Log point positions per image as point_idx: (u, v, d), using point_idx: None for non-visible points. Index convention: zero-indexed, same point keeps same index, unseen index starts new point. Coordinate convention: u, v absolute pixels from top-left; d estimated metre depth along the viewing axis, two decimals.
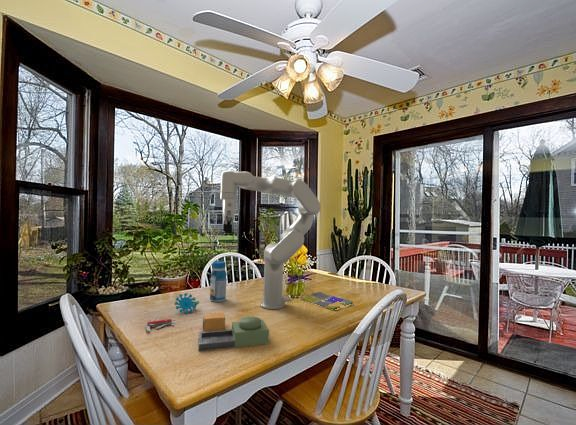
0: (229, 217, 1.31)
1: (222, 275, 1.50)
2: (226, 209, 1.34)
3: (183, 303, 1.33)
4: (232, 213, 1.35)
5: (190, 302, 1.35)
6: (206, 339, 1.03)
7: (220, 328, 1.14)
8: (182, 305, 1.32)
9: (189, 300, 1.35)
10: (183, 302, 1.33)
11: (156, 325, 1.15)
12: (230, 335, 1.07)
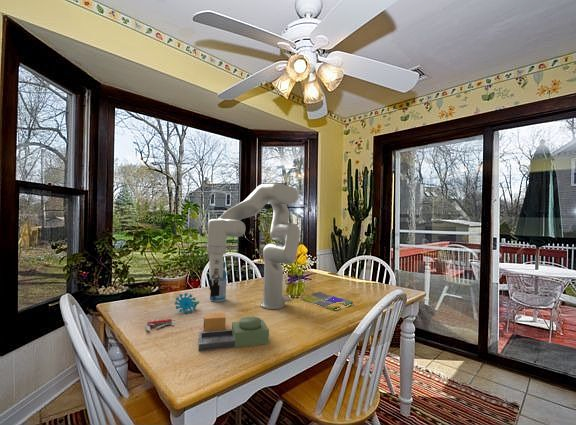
0: (216, 278, 1.08)
1: None
2: (213, 267, 1.11)
3: (183, 303, 1.33)
4: (220, 271, 1.12)
5: (190, 302, 1.35)
6: (206, 339, 1.03)
7: (221, 328, 1.14)
8: (182, 305, 1.32)
9: (189, 300, 1.35)
10: (183, 302, 1.33)
11: (156, 325, 1.15)
12: (230, 335, 1.07)
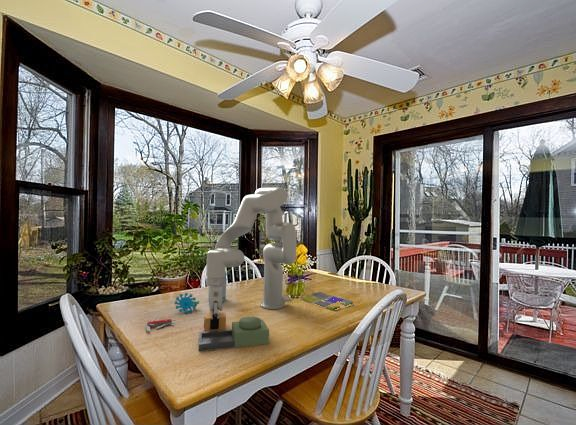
0: (215, 314, 1.09)
1: None
2: (212, 299, 1.11)
3: (183, 303, 1.33)
4: (219, 304, 1.12)
5: (190, 302, 1.35)
6: (206, 339, 1.03)
7: (221, 328, 1.14)
8: (182, 305, 1.32)
9: (189, 300, 1.35)
10: (183, 302, 1.33)
11: (156, 325, 1.15)
12: (230, 335, 1.07)
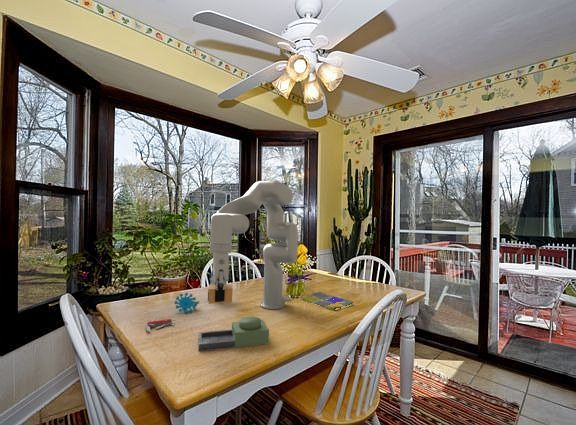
0: (220, 284, 0.96)
1: None
2: (217, 267, 0.98)
3: (183, 303, 1.33)
4: (225, 273, 0.99)
5: (190, 302, 1.35)
6: (206, 339, 1.03)
7: (227, 300, 1.01)
8: (182, 304, 1.32)
9: (189, 300, 1.36)
10: (183, 302, 1.34)
11: (156, 325, 1.15)
12: (230, 335, 1.07)
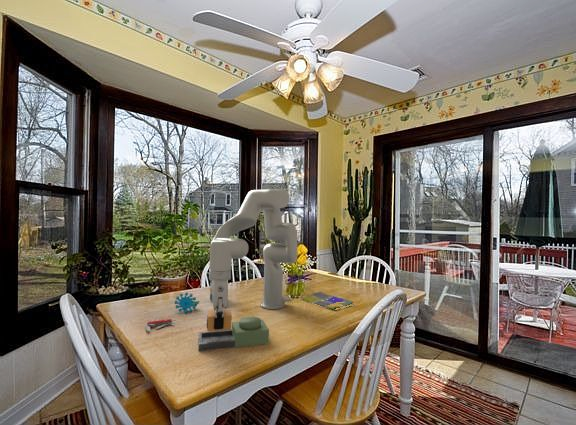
0: (220, 312, 0.96)
1: None
2: (216, 295, 0.98)
3: (183, 302, 1.33)
4: (224, 300, 0.99)
5: (190, 302, 1.35)
6: (206, 339, 1.03)
7: (226, 327, 1.01)
8: (182, 304, 1.33)
9: (189, 300, 1.36)
10: (183, 301, 1.34)
11: (156, 325, 1.15)
12: (230, 335, 1.07)
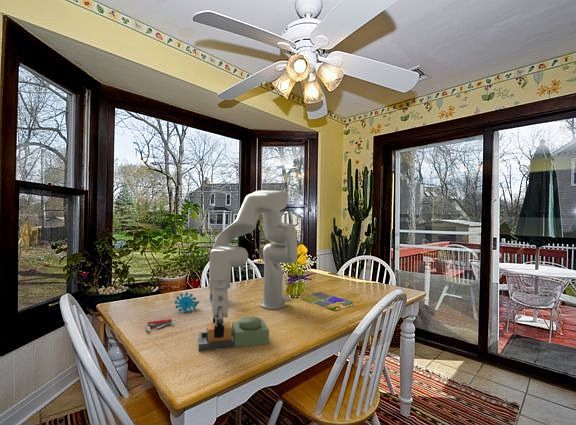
0: (220, 320, 0.95)
1: None
2: (216, 305, 0.98)
3: (183, 302, 1.34)
4: (224, 309, 0.99)
5: (190, 302, 1.35)
6: (206, 339, 1.03)
7: None
8: (182, 304, 1.33)
9: (189, 299, 1.36)
10: (183, 301, 1.34)
11: (156, 325, 1.15)
12: None
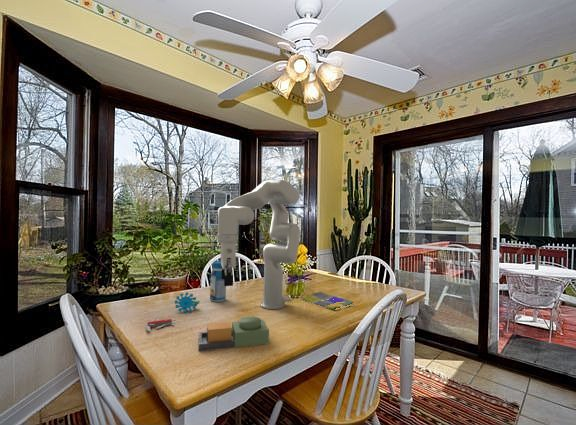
0: (229, 268, 1.04)
1: None
2: (225, 256, 1.07)
3: (183, 302, 1.34)
4: (233, 261, 1.08)
5: (190, 301, 1.35)
6: (206, 339, 1.03)
7: None
8: (182, 304, 1.33)
9: (189, 299, 1.36)
10: (183, 301, 1.34)
11: (156, 325, 1.15)
12: None
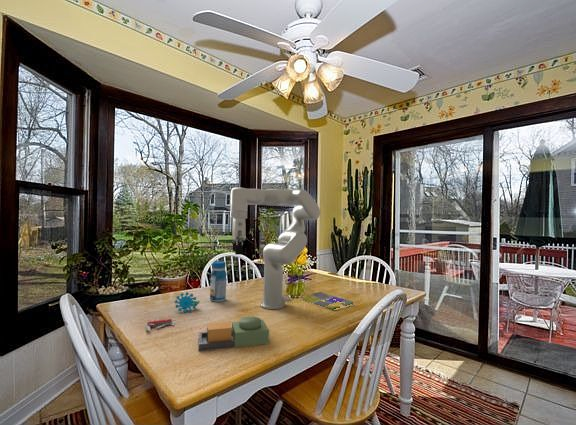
0: (240, 238, 1.23)
1: (222, 275, 1.50)
2: (237, 229, 1.26)
3: (183, 302, 1.34)
4: (243, 233, 1.27)
5: (190, 301, 1.36)
6: (206, 339, 1.03)
7: None
8: (182, 304, 1.33)
9: (189, 299, 1.36)
10: (183, 301, 1.34)
11: (156, 325, 1.15)
12: None
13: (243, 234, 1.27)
